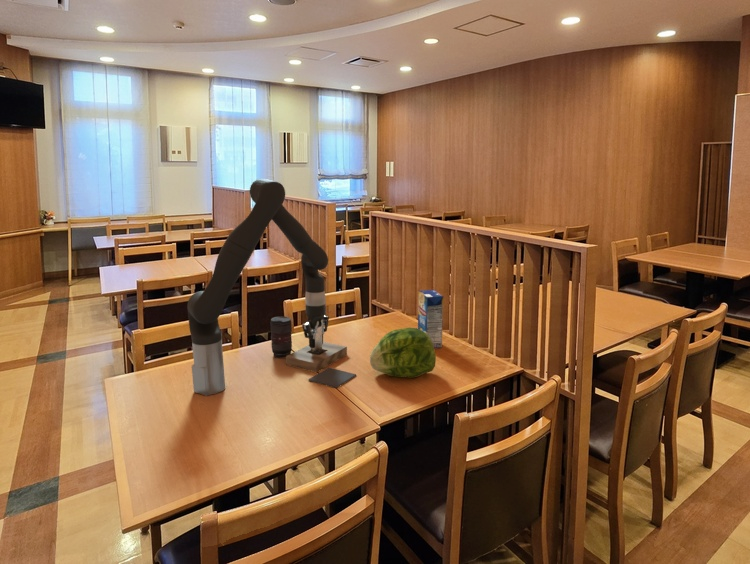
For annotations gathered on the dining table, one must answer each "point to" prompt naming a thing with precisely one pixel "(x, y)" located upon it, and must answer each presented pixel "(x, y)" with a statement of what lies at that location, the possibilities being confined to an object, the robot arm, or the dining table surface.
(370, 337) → the dining table surface
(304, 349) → the holder
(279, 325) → the camera lens
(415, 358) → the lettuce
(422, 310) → the beverage box
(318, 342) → the canister
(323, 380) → the mat
